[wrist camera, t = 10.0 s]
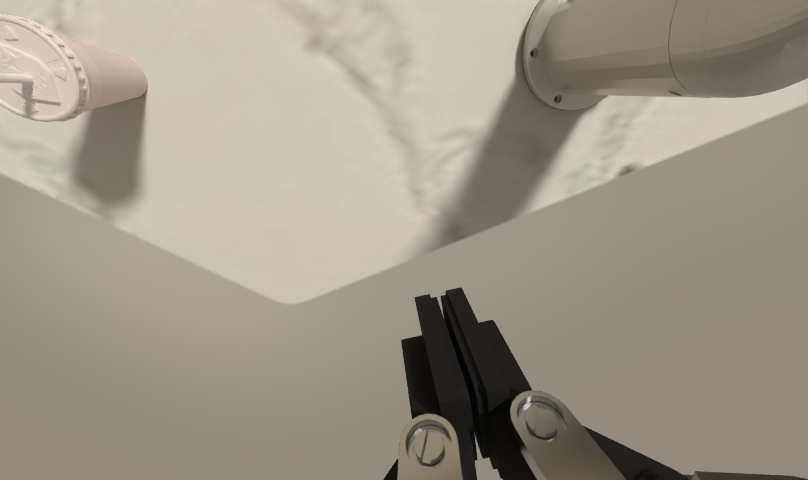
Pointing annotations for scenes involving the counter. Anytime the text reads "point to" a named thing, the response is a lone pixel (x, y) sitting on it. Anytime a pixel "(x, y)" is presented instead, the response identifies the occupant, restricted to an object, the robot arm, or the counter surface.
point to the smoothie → (60, 73)
